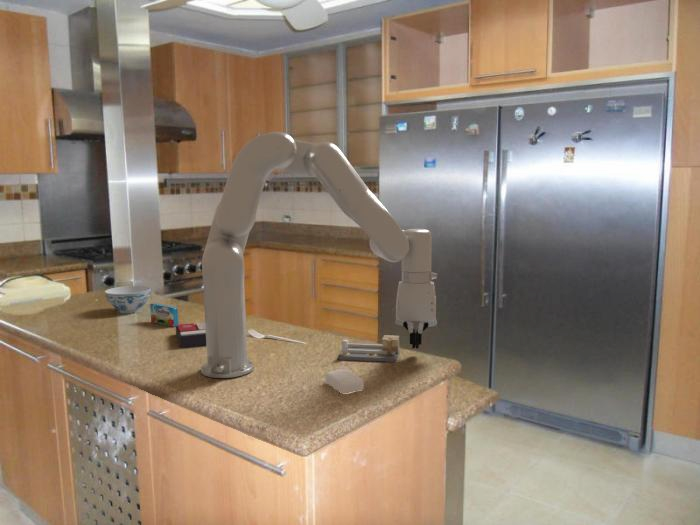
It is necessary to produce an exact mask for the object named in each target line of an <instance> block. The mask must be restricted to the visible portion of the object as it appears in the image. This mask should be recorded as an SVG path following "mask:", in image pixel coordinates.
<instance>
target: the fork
mask: <svg viewBox="0 0 700 525" xmlns="http://www.w3.org/2000/svg"><path fill="white" fill-rule="evenodd" d="M247 332H248V334H249V335H250V336H251V337H253V338H254V339H255V338H256V339H267V338H268V339H271V340H278V341H283V342H289V343H296V344H297V343H298V344H303V345H306V344H307V342H303V341H300V340H295V339H290V338H286V337H281V336H276V335H271V334H267V335H264V334H261V333H259V332H257V331H256V330H254V329H253V328H251V329H249V330H247Z"/></svg>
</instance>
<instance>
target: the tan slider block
mask: <svg viewBox="0 0 700 525" xmlns="http://www.w3.org/2000/svg"><path fill="white" fill-rule="evenodd" d="M381 340H382V344H381V345H382V351H387V355H392V351H396V353H398V351H399V352H400V335H392V334H391V335H390V334H389V335H388V334H386V335H385V334H384V335H383V337H382V339H381Z"/></svg>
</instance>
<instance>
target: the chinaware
mask: <svg viewBox="0 0 700 525" xmlns="http://www.w3.org/2000/svg"><path fill="white" fill-rule="evenodd" d="M151 291H152V290H151V287H150V286H144V285H126V286H117V287H112V288H108V289H106V290H105V291H104V294H105V297H106V299H107V300H106V301H108V303H109V304H110V305H111V306H112V307H113V308H114V309H116V310H118V313H120V312H121V313H120V314H134V313H133V312H135V313H138V312H140V309H141V308H142V307H144V305H146V303H147V301H148V300H149V297H150V294H151ZM137 311H138V312H137Z"/></svg>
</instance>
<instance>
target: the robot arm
mask: <svg viewBox="0 0 700 525" xmlns="http://www.w3.org/2000/svg"><path fill="white" fill-rule="evenodd" d="M273 171H279V172H285V173H290V174H295V175H299V176H300V175H301V176H307V177H313V178H314V177H315V178H316V179H317V180H318V181H319V183H320V184H321V185H322V186H323V188H324V189H325V190H326V192H327V193H328V194H329V196H330V197H331V198H332V200H333V201H334V202H335V204H336V205H337V207H338V208H339V209H340V211H341V212H343V214H344V215H345V216H347V218H349V219H350V220H351V221H353V222H355V224H357V225H358V226H359V228H361V230H362V231H363V232H365V234H366V236H368V238H369V248H370V251H372V252H373V254H374V255H375V256H377V257H379V258H381V259H383V260H385V261H388V262H390V263H397V262H401V281H398V286H397V292H396V302H395V303H396V305H395V321H394V324H395V325H397V326H401V327H403V328H404V329H406V330H407V331H408V333H409V345H411V346H412V347H411V348H412V349H415V348H416V349H417V350H419V347H420V345H422V339H423V338H422V333H423V332H424V331H425V330H427V328H430V327H436V326H437V318H436V315H437V297H436V296H437V294H436V287H435V282H434V281H432V280H435V279H437V277H438V273H437V272H436V273H435V272H433V271H432V242H433V241H432V240H433V239H432V233H431V231H430V230H428V229H425V228H409V229H402V227H400V225H399V224H398V222H397V220H395V218H394V217H393V215H392V214H391V213H390V212H389V211H388V210H387V208H386V207H385V206H384V205H383V204H382V203H381V201H380V200H379V199H378V198H377V196H376V195H375V194H374V193H373V192H372V190H370V189H369V187H368V186H367V184H365V182H364V180H363V179H362V177H360V175H359V174H358V172H357V171H356V170H355V168H354V167H353V165H352V164H351V163H350V161H349V160H348V159H347V157H346V155H345V154H344V153H343V152H342V151H341V149H340V148H339V146H337V145H336V144H334V143H333V142H326V141H324V142H323V141H321V142H319V143H318V142H310V141H304V140H299V139H294V138H293V137H292V136H291V135H289V134H288V133H286V132H283V131H271V132H266V133H263V134H260V135H257V136H255V137H253V138H252V139H250V140H249V141H247V142H246V143H245V144H244V145H243V146H242V148H240V149H239V151H238V153H237V154H236V156H235V158H234V160H233V162H232V164H231V167H230V170H229V173H228V177H227V180H226V183H225V186H224V190H223V193H222V196H221V198H220V202H219V203H218V205H217V206H216V208H215V211H214V215H213V219H212V222H211V226H210V229H209V234H208V236H207V240H206V244H205V247H204V251H203V253H202V254H203V255H202V257H201V258H202V259H201V271H202V282H203V283H202V286H203V304H204V320H205V321H204V322H205V327H206V346H205V347H206V362H204V363H203V364H201V366H200V373H201V374H202V375H203V376H204V377H207V378H214V379H230V378H237V377H241V376H244V375H247V374H249V373H251V372H252V371H253V370H254V368H255V367H254V366H255V365H254V362H253V361H251V360H250V359H248V351H247V348H248V345H247V324H246V323H247V322H246V318H247V316H246V297H245V291H246V290H245V288H246V287H245V267H246V266H245V259H244V258H245V257H244V253H245V249H246V245H247V243H248V238H249V234H250V231H251V230H252V229H253V226H254V225H255V221H256V217H257V211H258V207H259V204H260V200H261V196H262V194H263V191H264V189H265V188H264V187H265V184H266V182H267V179H268V177H269V176H270V174H271V173H273ZM415 322H416V323H418V326H417V329H415V327H414V323H415Z"/></svg>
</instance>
